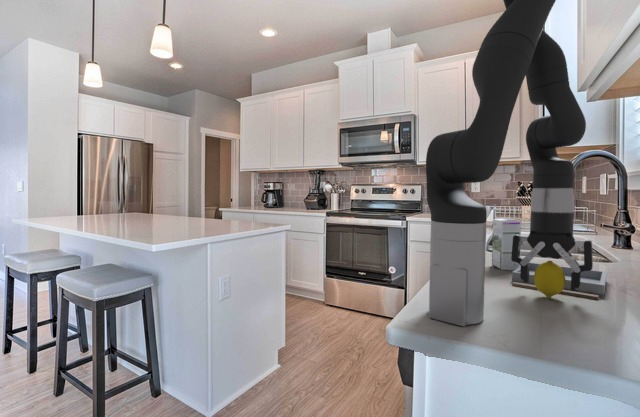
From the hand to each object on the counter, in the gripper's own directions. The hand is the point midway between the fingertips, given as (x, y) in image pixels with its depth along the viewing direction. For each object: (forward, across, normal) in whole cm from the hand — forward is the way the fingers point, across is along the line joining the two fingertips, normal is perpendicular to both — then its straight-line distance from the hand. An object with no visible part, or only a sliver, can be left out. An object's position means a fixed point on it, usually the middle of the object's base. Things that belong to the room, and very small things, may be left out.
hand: (549, 285), depth 72 cm
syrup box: (+3, -14, +25) cm, 29 cm away
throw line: (+3, 0, +6) cm, 6 cm away
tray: (+3, 0, +17) cm, 17 cm away
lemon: (+3, 0, 0) cm, 3 cm away
